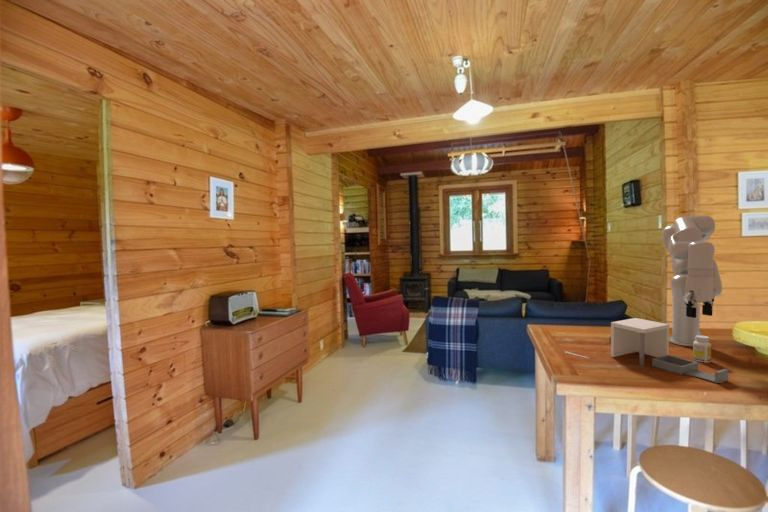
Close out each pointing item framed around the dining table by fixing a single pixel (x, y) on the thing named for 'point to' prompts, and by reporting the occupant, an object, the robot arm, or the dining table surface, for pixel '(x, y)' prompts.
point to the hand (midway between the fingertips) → (699, 316)
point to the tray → (687, 368)
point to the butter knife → (577, 355)
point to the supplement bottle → (702, 349)
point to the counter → (639, 338)
